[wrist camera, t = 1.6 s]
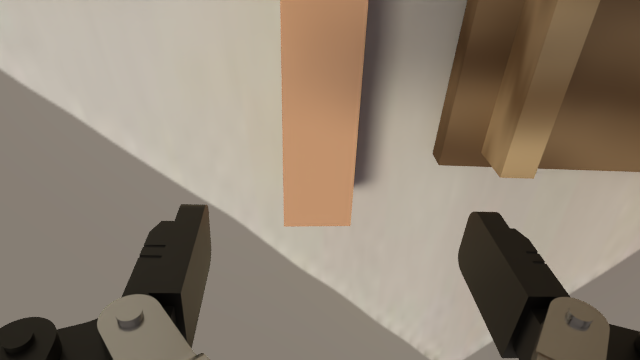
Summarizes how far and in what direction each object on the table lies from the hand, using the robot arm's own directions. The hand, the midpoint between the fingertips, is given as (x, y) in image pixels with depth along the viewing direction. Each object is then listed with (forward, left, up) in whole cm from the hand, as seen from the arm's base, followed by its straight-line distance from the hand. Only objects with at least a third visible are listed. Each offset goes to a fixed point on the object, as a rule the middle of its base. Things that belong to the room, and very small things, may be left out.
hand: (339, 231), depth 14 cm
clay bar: (0, 0, -15) cm, 15 cm away
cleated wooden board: (-1, +18, -15) cm, 23 cm away
